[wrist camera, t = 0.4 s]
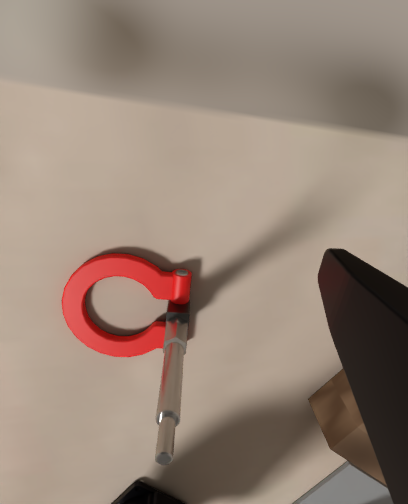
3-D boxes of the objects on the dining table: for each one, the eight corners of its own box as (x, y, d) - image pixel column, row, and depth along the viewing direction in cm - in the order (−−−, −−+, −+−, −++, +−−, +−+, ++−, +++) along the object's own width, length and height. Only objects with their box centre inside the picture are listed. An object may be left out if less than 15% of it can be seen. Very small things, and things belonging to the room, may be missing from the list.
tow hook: (68, 344, 28) (184, 352, 29) (-27, 514, 16) (175, 524, 17) (64, 245, 25) (194, 257, 26) (-57, 365, 13) (191, 382, 14)
